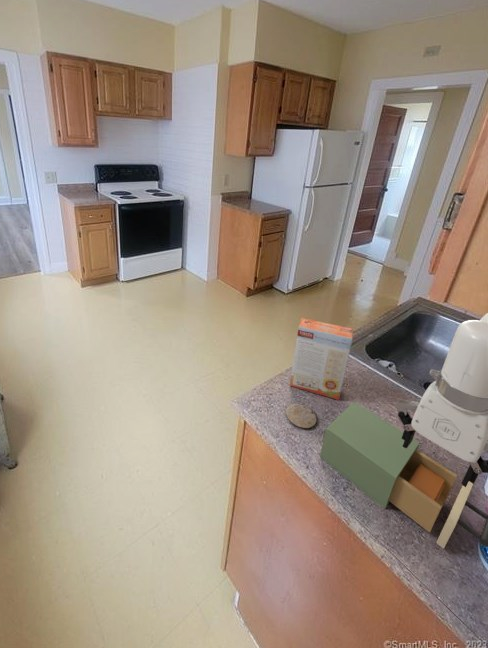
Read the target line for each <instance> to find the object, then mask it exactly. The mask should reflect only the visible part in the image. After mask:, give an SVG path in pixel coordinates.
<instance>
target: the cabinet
mask: <svg viewBox="0 0 488 648" xmlns="http://www.w3.org/2000/svg"><path fill="white" fill-rule="evenodd" d="M403 433H404V430H403V431H402V430H401V429H399V428H398V427H397V426H395V425H393V424H391V423H390V422H388V421H386V420H385V419H383V418H382V417H380V416H378V415H377V414H375V413H374V412H372V411H370V410H369V409H367V408H365V407H363V405H361V404H359V403H357V402H355V401H353V402H352V403H351V404H350V405H348V406H347V408H346V409H345V410H344V411H343V412H341V413H340V414H339V415H338V416H337V417H336V418H335V419H334V420H333V421H332V422H331V423H330V424H329V425H328V426H327V427H326V429H325V432H324V438H323V441H322V446H321V450H320V454H319V458H320V459H322V460H323V461H324V462H326V463H327V464H328V466H330V467H332V469H334V470H335V471H337V472H338V473H339V474H340V475H341V476H343V477H344V478H345V479H346V480H347V481H349V482H350V483H352V485H353V486H355V487H357V489H359V490H360V491H361V492H362V493H364V494H365V495H366V496H368V497H369V498H370V499H371V500H373V501H374V502H375V503H376V504H378V505H379V506H380V507H381V508H383V509H384V510H386V509H387V507H388V505H389V504H390V503H391V502H390V501H389V499H390V496H391V493H392V490H393V488H394V485H395V482H396V479H397V478H398V476H399V475H400V473H401V472H402V470H403V469H404V467H405V466H406V464H407V463H408V461H409V460H410V458H411V457H412V455H413V454H414V452H415V450H416V449H417V450H419V447H420V444H421V441H419V440H417V439H415V438H414V437H413V440H412V442H411V443H410V445H409V446H408V447H407V448H404V447H403V444H404V441H405V440H403V439H402V436H403Z"/></svg>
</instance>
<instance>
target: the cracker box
mask: <svg viewBox="0 0 488 648" xmlns="http://www.w3.org/2000/svg"><path fill="white" fill-rule="evenodd" d="M353 336H354V333H353V328H351V327H346V326H342V325H337V324H332V323H327V322H323V321H318V320H314V319H309V318H305V317H301V318H300V322H299V325H298V329H297V336H296V341H295V348H294V355H293V360H292V368H291V375H290V380H289V386H290V387H292V388H296V389H299V390H302V391H306V392H310V393H313V394H316V395H320V396H323V397H326V398H329V399H333V400H337V401H339V400H340V397H341V394H342V390H343V389H342V388H343V384H344V380H345V375H346V370H347V367H348V362H349V358H350V352H351V349H352V344H353V340H354V339H353V338H354V337H353Z"/></svg>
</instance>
